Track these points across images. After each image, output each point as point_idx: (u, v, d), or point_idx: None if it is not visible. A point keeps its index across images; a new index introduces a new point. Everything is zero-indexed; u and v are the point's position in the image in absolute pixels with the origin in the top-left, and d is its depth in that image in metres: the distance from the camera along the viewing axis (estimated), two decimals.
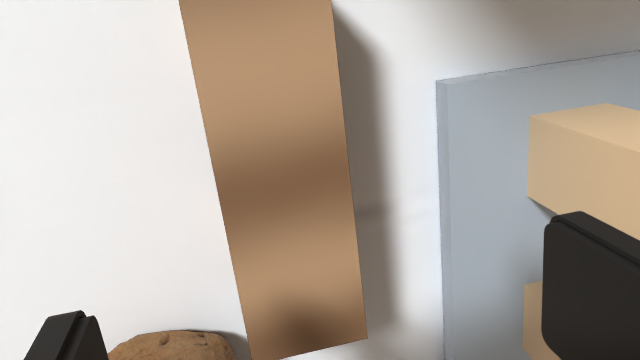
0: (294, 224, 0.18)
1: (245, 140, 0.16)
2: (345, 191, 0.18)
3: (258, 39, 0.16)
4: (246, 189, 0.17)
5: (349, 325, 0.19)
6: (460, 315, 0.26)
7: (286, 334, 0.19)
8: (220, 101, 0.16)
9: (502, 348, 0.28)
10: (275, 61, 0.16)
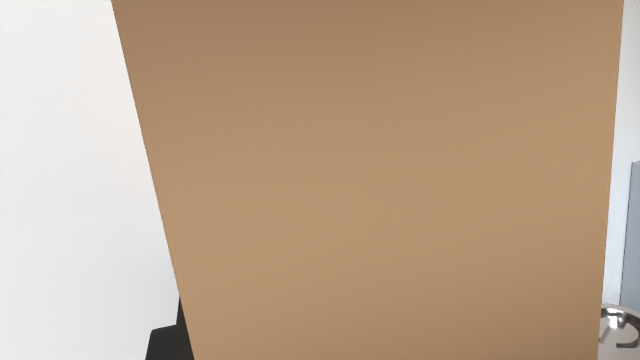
0: None
1: None
2: None
3: (388, 162, 0.05)
4: None
5: None
6: None
7: None
8: (260, 345, 0.05)
9: None
10: (432, 223, 0.05)
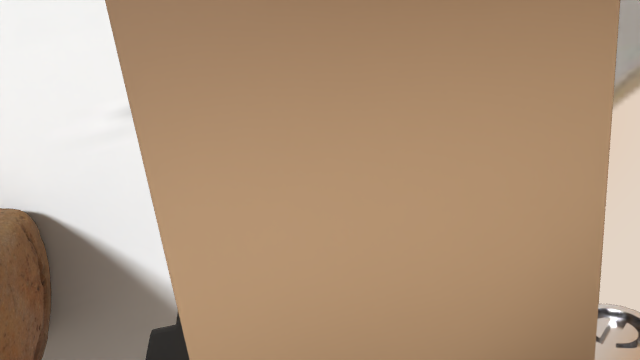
0: None
1: None
2: None
3: (385, 173, 0.05)
4: None
5: None
6: None
7: None
8: (257, 354, 0.05)
9: None
10: (428, 233, 0.05)
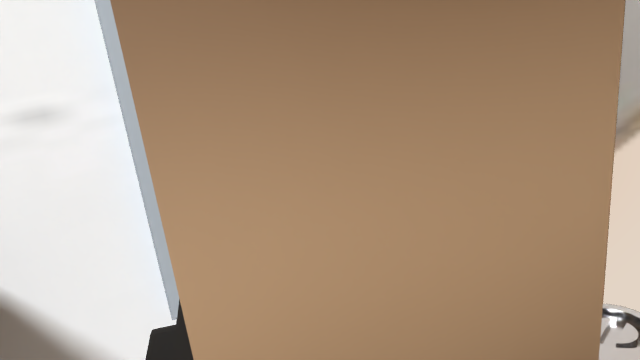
0: None
1: None
2: None
3: (390, 175, 0.05)
4: None
5: None
6: (159, 230, 0.25)
7: None
8: (261, 357, 0.05)
9: None
10: (433, 236, 0.05)
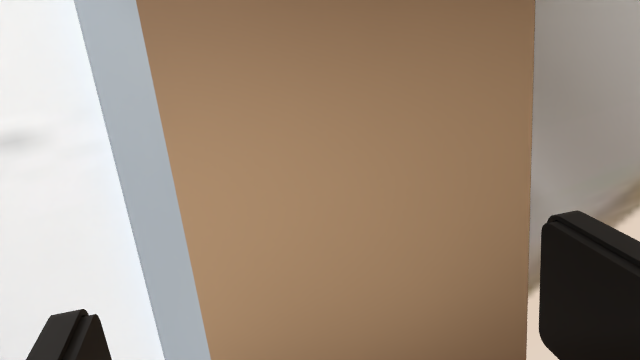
0: None
1: None
2: None
3: (350, 133, 0.06)
4: None
5: None
6: (154, 276, 0.21)
7: None
8: (248, 280, 0.06)
9: None
10: (386, 184, 0.06)
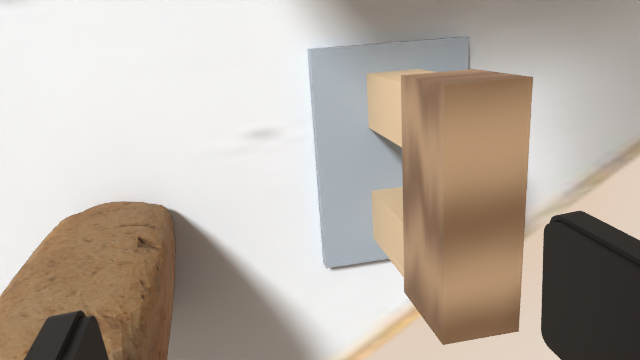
0: (485, 248, 0.27)
1: (466, 190, 0.25)
2: (520, 227, 0.27)
3: (485, 129, 0.25)
4: (461, 222, 0.26)
5: (508, 320, 0.28)
6: (327, 208, 0.39)
7: (467, 324, 0.28)
8: (456, 165, 0.25)
9: (359, 236, 0.41)
10: (492, 142, 0.25)
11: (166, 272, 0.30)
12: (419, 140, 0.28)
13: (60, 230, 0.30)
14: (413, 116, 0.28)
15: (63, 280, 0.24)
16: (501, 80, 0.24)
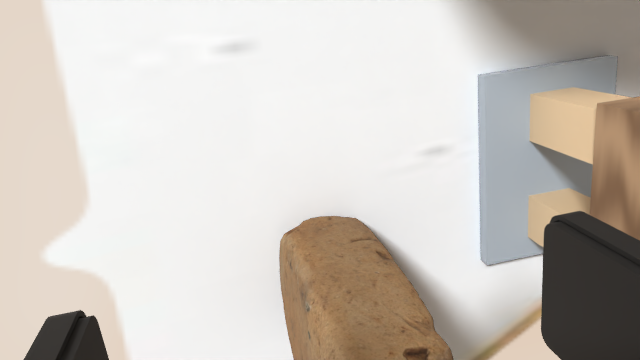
0: None
1: None
2: None
3: None
4: None
5: None
6: (491, 213, 0.45)
7: None
8: None
9: (516, 236, 0.46)
10: None
11: None
12: (624, 160, 0.33)
13: (306, 247, 0.35)
14: (615, 139, 0.33)
15: (358, 292, 0.30)
16: None
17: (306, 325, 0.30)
